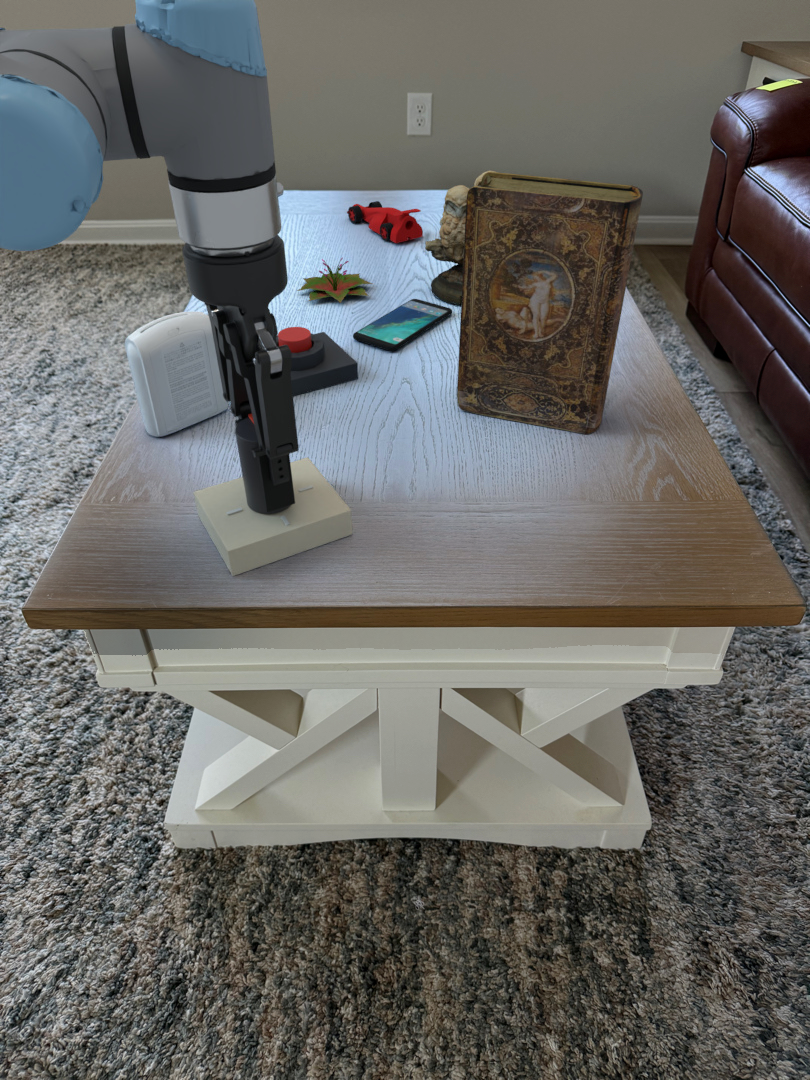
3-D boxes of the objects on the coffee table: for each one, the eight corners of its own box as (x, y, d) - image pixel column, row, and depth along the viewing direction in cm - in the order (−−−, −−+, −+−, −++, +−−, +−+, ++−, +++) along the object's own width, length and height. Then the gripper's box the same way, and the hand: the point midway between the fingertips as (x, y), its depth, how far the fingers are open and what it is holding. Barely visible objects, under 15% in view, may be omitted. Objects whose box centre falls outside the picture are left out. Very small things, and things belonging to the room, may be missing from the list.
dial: (301, 505, 73) (292, 429, 68) (257, 520, 72) (244, 443, 66) (283, 481, 76) (273, 406, 71) (240, 494, 75) (227, 419, 69)
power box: (268, 402, 94) (264, 372, 91) (239, 368, 100) (235, 339, 98) (358, 378, 98) (357, 349, 95) (325, 346, 105) (322, 318, 102)
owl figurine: (419, 306, 114) (420, 182, 103) (429, 275, 123) (431, 158, 112) (544, 313, 112) (558, 188, 101) (545, 281, 121) (558, 162, 110)
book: (604, 412, 92) (646, 186, 75) (596, 436, 88) (638, 204, 71) (469, 388, 96) (481, 170, 80) (456, 410, 92) (465, 186, 76)
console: (232, 576, 70) (227, 550, 68) (198, 516, 77) (192, 490, 75) (352, 534, 75) (351, 508, 73) (310, 480, 81) (307, 455, 79)
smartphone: (454, 308, 112) (393, 348, 102) (454, 313, 112) (393, 353, 103) (413, 297, 115) (350, 334, 105) (413, 302, 115) (350, 339, 106)
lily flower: (299, 311, 113) (296, 280, 110) (292, 279, 122) (289, 249, 119) (381, 303, 115) (380, 273, 112) (368, 273, 124) (367, 243, 121)
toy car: (370, 212, 147) (369, 183, 143) (423, 239, 135) (423, 209, 132) (342, 217, 144) (340, 189, 141) (394, 246, 133) (394, 216, 130)
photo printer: (215, 396, 95) (197, 297, 87) (235, 409, 92) (219, 309, 84) (138, 428, 89) (112, 326, 81) (158, 443, 87) (133, 339, 79)
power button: (286, 357, 95) (285, 344, 94) (274, 344, 97) (272, 331, 96) (317, 349, 96) (315, 336, 95) (304, 337, 99) (302, 324, 98)
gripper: (327, 267, 54) (346, 530, 69) (239, 198, 65) (272, 435, 81) (222, 289, 51) (266, 558, 66) (150, 213, 63) (201, 456, 78)
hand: (269, 490), depth 73 cm, fingers closed on dial, 4 cm apart
